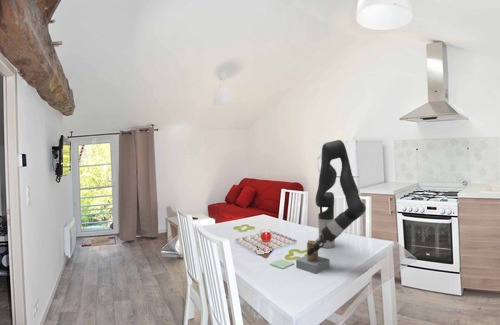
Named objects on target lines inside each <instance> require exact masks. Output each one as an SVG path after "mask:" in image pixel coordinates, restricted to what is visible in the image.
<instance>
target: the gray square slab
mask: <svg viewBox="0 0 500 325" xmlns="http://www.w3.org/2000/svg"><path fill="white" fill-rule="evenodd" d="M330 265H331V264H330V258H326V257H324V256H323V257H322V256H319V255H318V261H307V255H304V256H302V257H299V258H296V260H295V266H296V268H298V269H300V270H303V271H306V272H309V273H312V274H314V275H315V274H318V273H320V272H322V271H324V270H326V269H328V268H330Z"/></svg>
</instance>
